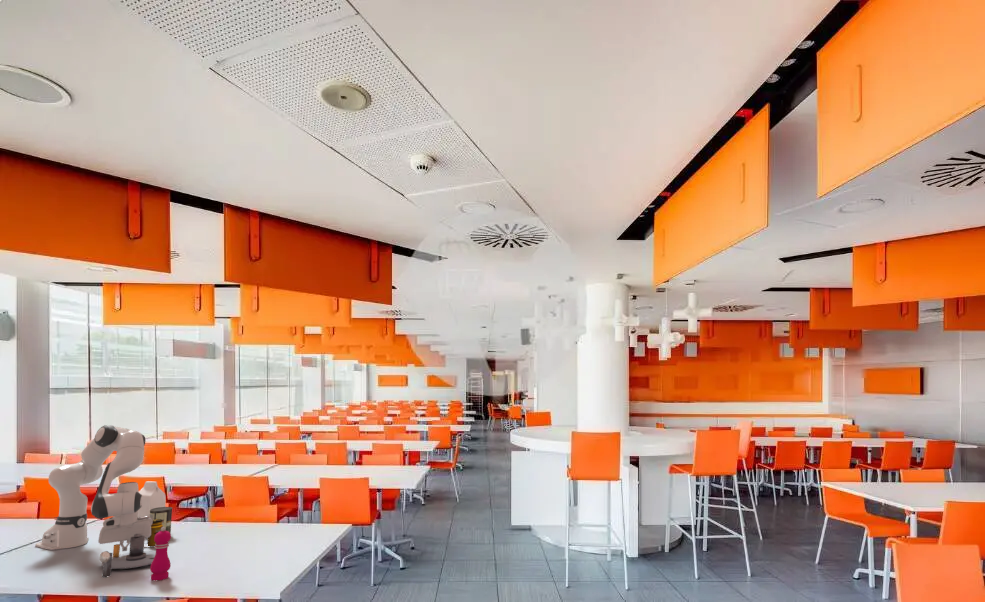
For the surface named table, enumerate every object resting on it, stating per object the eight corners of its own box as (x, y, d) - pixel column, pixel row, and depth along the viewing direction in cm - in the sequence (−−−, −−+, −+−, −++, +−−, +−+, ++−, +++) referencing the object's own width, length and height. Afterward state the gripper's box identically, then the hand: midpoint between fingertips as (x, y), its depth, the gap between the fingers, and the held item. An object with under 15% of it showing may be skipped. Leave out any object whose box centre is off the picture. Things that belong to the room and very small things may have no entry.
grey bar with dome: (97, 577, 235) (100, 551, 236) (104, 575, 238) (106, 549, 239) (106, 578, 234) (108, 552, 235) (112, 576, 237) (115, 550, 238)
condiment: (162, 545, 281) (164, 520, 283) (142, 548, 276) (144, 522, 278) (161, 542, 287) (163, 517, 289) (141, 545, 282) (143, 519, 284)
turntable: (120, 572, 238) (121, 557, 238) (90, 563, 250) (91, 549, 250) (176, 557, 258) (177, 543, 259) (147, 549, 270) (148, 536, 271)
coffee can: (163, 533, 304) (165, 505, 305) (174, 536, 298) (176, 508, 300) (143, 538, 295) (145, 509, 297) (154, 541, 289) (156, 511, 291)
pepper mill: (164, 574, 239) (168, 524, 242) (173, 577, 235) (176, 526, 238) (145, 579, 233) (149, 527, 236) (154, 582, 229) (158, 530, 232)
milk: (128, 534, 303) (133, 483, 307) (146, 528, 314) (150, 479, 318) (147, 535, 300) (151, 483, 304) (165, 529, 311) (168, 480, 315)
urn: (131, 561, 249) (133, 537, 251) (122, 559, 253) (124, 535, 255) (149, 557, 256) (151, 533, 257) (140, 554, 260) (142, 531, 261)
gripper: (153, 514, 269) (151, 545, 267) (100, 520, 259) (98, 553, 257) (152, 516, 264) (151, 548, 262) (99, 523, 254) (97, 556, 252)
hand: (124, 550), depth 259 cm, fingers closed
